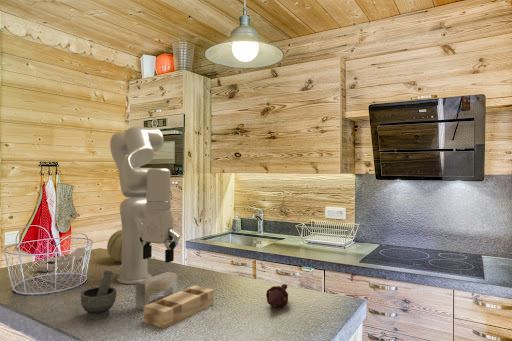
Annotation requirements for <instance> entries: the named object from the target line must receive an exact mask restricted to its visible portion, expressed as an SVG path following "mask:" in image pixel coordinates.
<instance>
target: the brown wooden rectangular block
mask: <svg viewBox="0 0 512 341" xmlns="http://www.w3.org/2000/svg"><path fill="white" fill-rule="evenodd" d="M214 295H215V290H214V289H213V288H209V287H203V286H199V285H195V284H194V285H192V286H190V287H187V288H185V289H183V290H180V291H178V292H177V293H175V294H172V295H170V296H167V297H163V298H160V299H158V300H155V301H152V302H150V304H148V305H145V306H144V310H143V323H146V324H149V325H152V326H155V327H158V328H162V329H167V328H168V327H171V326H173V325H175V324H177V323H179V322H181V321H183V320H184V319H186V318H189V317H190V316H192V315H195V314H196V313H198V312H201V311H202V310H204V309H206V308H208V307H210V306H211V305H214V303H215V301H214V300H215V299H214V297H215V296H214Z"/></svg>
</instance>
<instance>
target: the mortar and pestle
mask: <svg viewBox="0 0 512 341" xmlns="http://www.w3.org/2000/svg"><path fill="white" fill-rule="evenodd" d="M113 275H114V271H112V270H104V271H103V277H102V279H101V282H100V284H99V286H96V287H91V288H87V289H85V290H82V291H81V292H80V301H81V302H80V304H81V307H82V309H83V310H84V311H85V312H86V313H87V314H86V319H88V320H92V321H93V320H101V319H106V318H107V317H109V315H110V309H111V308H112V307H113V306H114V304H115V302H116V299H117V290H116V289H117V288H115V287H111V286H110V285H111V280H112V276H113Z"/></svg>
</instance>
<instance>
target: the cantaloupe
mask: <svg viewBox="0 0 512 341" xmlns="http://www.w3.org/2000/svg"><path fill="white" fill-rule="evenodd" d="M106 245H107V246H106V248H107V249H106V250H107V253H108V256H109V257H110V258H111V259H112V260H114V261H115V262H118V263H122V229H119V230H117V231H115V232H114V233H113V234H112V235H110V237H109V239H108V240H107V244H106Z"/></svg>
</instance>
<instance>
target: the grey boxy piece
mask: <svg viewBox="0 0 512 341" xmlns="http://www.w3.org/2000/svg"><path fill="white" fill-rule="evenodd" d="M177 286H178V273H175V272H171V271H166V272H162V273H160V274H157V275H154V276H151V277H150V278H147V279H144V280H141V281H138V282H136V284H135V309H138V310H141V311H144V306H145V305H148V304H150V303H151V296H153V295H155V294H158V293H160V292H163V298H165V297H167V296H170V295H172V294H175V293H177V288H178V287H177Z"/></svg>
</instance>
